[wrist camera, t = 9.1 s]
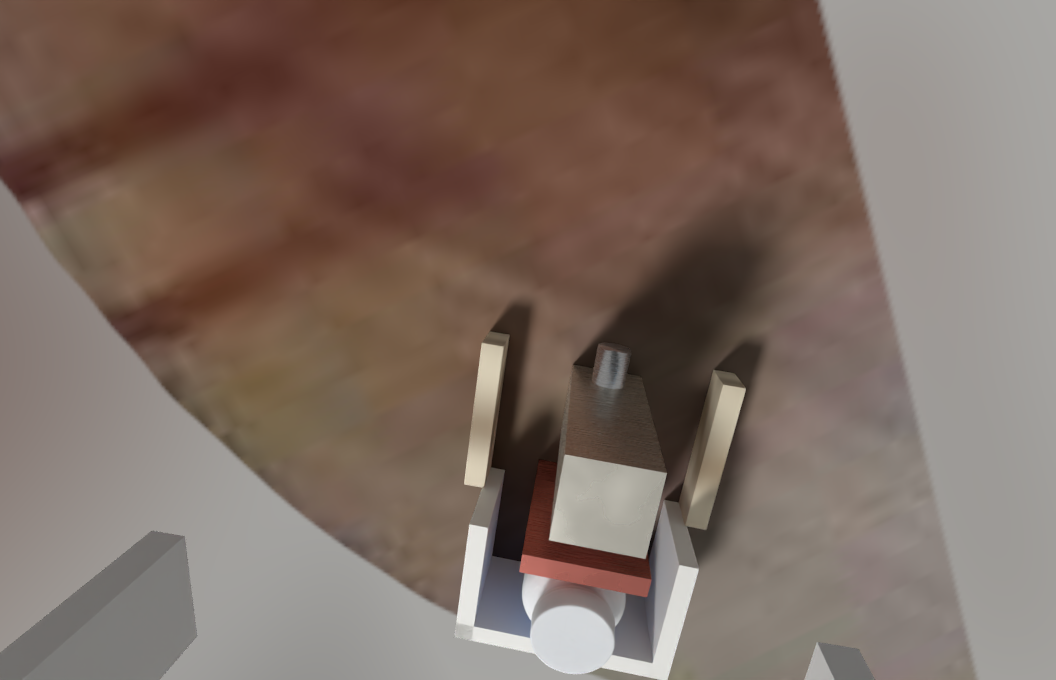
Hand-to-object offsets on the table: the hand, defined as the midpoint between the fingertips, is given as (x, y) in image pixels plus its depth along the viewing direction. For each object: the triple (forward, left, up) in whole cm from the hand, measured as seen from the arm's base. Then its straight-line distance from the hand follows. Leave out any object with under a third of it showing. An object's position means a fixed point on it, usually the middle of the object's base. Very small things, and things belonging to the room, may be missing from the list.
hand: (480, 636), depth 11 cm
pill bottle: (+11, +3, -22) cm, 24 cm away
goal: (+12, +4, -21) cm, 25 cm away
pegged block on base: (+3, +3, -21) cm, 22 cm away
